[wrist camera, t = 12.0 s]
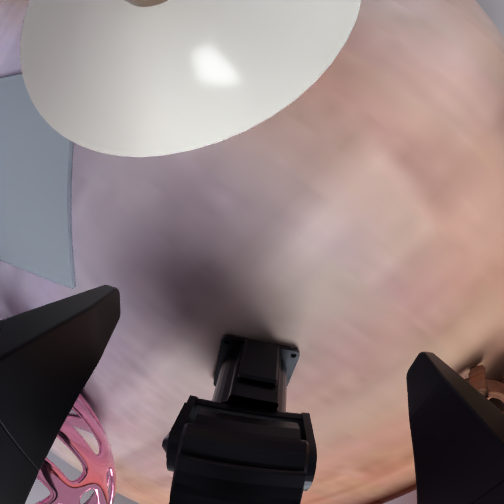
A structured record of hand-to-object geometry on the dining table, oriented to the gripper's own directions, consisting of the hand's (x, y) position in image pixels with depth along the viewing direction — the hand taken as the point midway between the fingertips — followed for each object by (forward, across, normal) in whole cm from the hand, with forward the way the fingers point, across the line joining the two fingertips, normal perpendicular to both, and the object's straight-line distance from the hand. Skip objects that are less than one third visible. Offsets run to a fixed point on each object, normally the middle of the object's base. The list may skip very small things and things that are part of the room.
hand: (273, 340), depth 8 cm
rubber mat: (+13, +26, +1) cm, 29 cm away
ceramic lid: (+7, +8, -12) cm, 16 cm away
